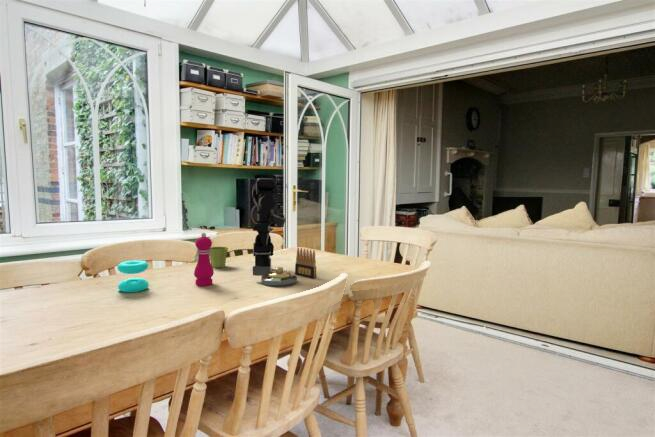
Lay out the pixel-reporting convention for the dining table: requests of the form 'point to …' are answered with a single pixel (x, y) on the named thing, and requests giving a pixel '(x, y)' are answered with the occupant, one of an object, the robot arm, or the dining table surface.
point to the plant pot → (218, 256)
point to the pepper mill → (203, 262)
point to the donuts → (133, 283)
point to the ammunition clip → (305, 264)
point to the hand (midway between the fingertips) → (265, 245)
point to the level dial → (271, 272)
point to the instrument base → (279, 281)
